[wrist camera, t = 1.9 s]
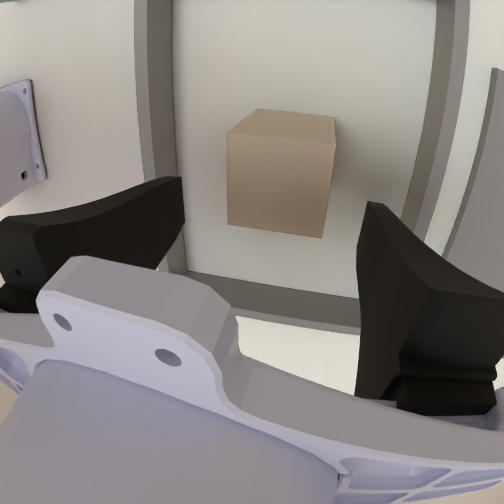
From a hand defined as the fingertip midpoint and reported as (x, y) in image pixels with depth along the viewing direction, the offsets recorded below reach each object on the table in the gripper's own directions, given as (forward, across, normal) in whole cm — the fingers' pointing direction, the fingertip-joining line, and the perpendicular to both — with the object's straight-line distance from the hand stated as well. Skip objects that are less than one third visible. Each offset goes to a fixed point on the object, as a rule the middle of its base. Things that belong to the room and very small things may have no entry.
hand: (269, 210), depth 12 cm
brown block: (+8, 0, 0) cm, 8 cm away
